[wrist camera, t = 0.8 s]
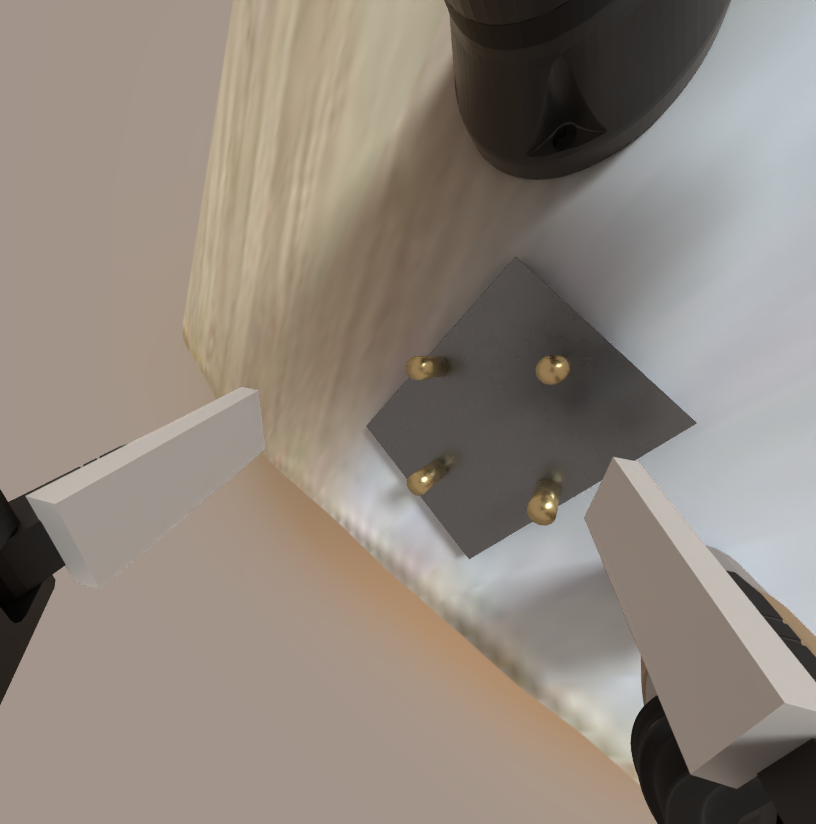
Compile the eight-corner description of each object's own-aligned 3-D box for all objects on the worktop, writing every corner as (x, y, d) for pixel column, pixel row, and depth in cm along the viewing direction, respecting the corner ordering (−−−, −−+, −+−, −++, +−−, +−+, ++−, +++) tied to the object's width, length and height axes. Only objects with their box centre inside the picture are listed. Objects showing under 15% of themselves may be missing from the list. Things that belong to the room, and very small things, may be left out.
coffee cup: (670, 657, 23) (771, 1033, 10) (583, 545, 25) (577, 746, 12) (838, 626, 19) (1397, 1230, 6) (717, 491, 20) (936, 722, 8)
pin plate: (519, 261, 24) (502, 239, 19) (690, 419, 20) (720, 437, 16) (375, 423, 33) (339, 434, 29) (474, 550, 30) (452, 586, 25)
